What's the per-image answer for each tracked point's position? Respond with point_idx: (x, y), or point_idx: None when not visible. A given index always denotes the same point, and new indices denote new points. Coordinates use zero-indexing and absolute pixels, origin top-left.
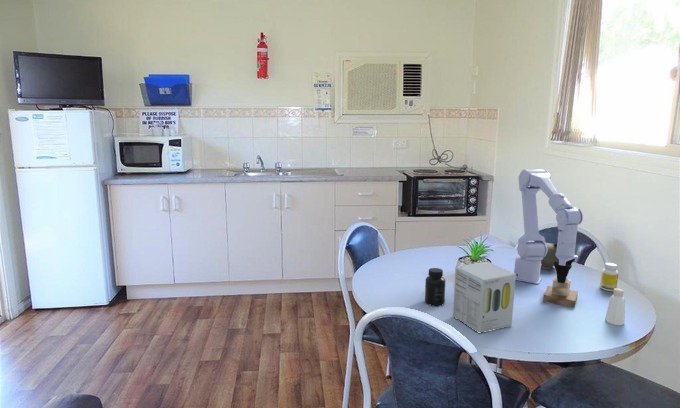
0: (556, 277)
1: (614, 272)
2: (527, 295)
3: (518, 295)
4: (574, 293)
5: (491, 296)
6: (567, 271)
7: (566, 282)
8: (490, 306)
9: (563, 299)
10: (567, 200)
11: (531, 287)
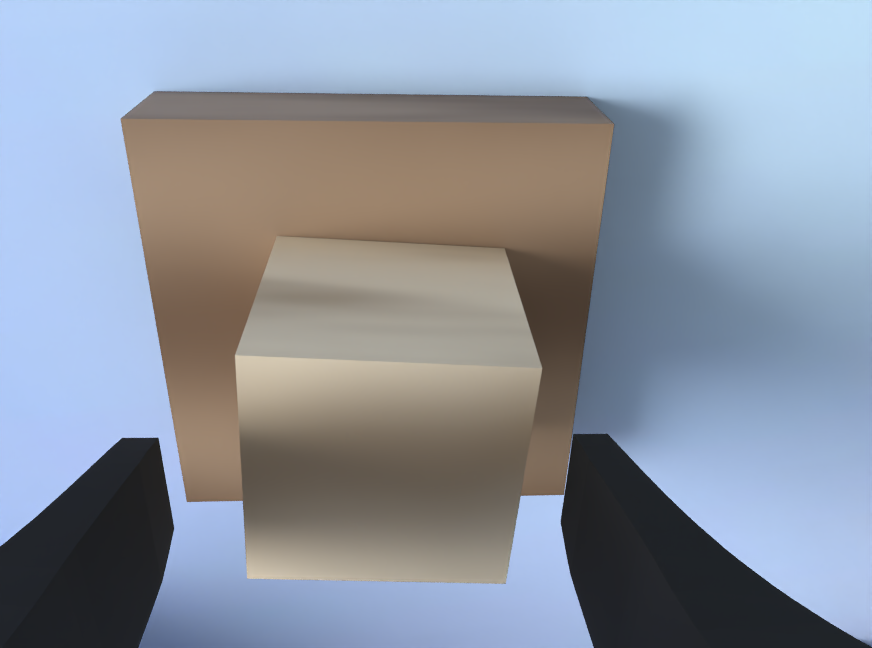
0: (305, 560)
1: None
2: None
3: (500, 632)
4: (270, 161)
5: None
6: (837, 640)
7: (510, 403)
8: None
9: (587, 275)
10: None
11: (174, 585)
